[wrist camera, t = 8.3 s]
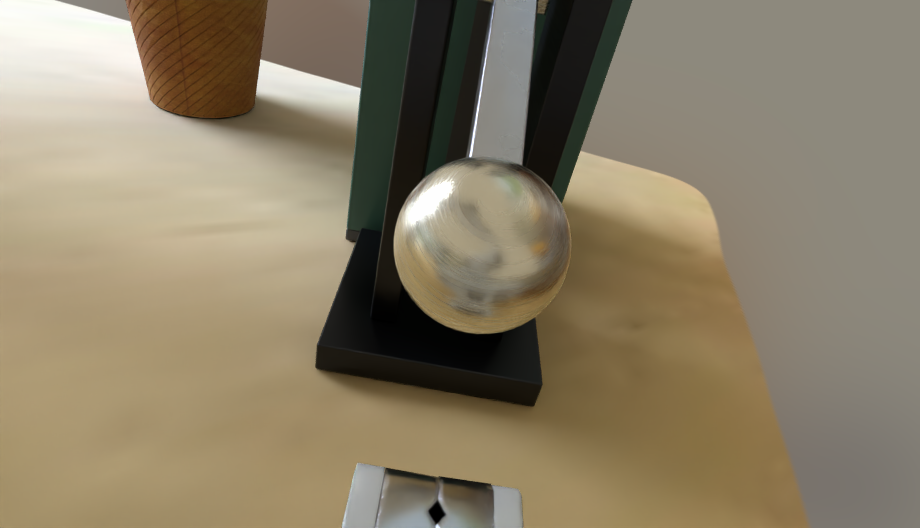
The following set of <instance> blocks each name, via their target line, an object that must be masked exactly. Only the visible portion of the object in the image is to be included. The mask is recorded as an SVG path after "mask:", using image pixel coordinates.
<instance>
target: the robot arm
mask: <svg viewBox="0 0 920 528" xmlns="http://www.w3.org/2000/svg"><path fill="white" fill-rule="evenodd" d="M384 471H385V473H384ZM341 528H523V510H522V496H521V493H520V491H519V490H518V489H516V488H509V487H502V486H495V485H491V484H488V483H481V482H474V481H467V480H460V479H453V478H447V477H440V476H439V477H436V476H430V475H424V474H418V473H413V472H407V471H401V470H395V469H390V468H385V467H380V466H374V465H368V464H361V463H357V466H356V469H355V472H354V475H353V480H352V484H351V488H350V493H349V497H348V501H347V506H346V510H345V514H344V519H343V523H342V527H341Z"/></svg>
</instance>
